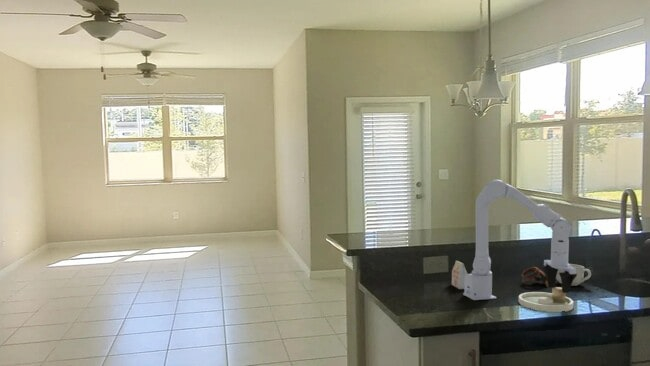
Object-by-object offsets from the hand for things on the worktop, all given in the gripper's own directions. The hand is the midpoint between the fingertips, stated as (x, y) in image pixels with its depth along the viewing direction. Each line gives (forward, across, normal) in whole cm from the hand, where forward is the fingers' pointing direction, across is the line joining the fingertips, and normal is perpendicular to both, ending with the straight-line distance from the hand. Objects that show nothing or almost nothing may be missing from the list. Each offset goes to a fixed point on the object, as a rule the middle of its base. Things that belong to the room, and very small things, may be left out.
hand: (558, 289), depth 186 cm
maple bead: (+4, 0, 0) cm, 4 cm away
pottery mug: (+5, +26, -9) cm, 28 cm away
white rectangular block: (+5, +29, +23) cm, 38 cm away
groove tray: (+5, 0, +5) cm, 7 cm away
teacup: (+5, +21, -23) cm, 31 cm away
